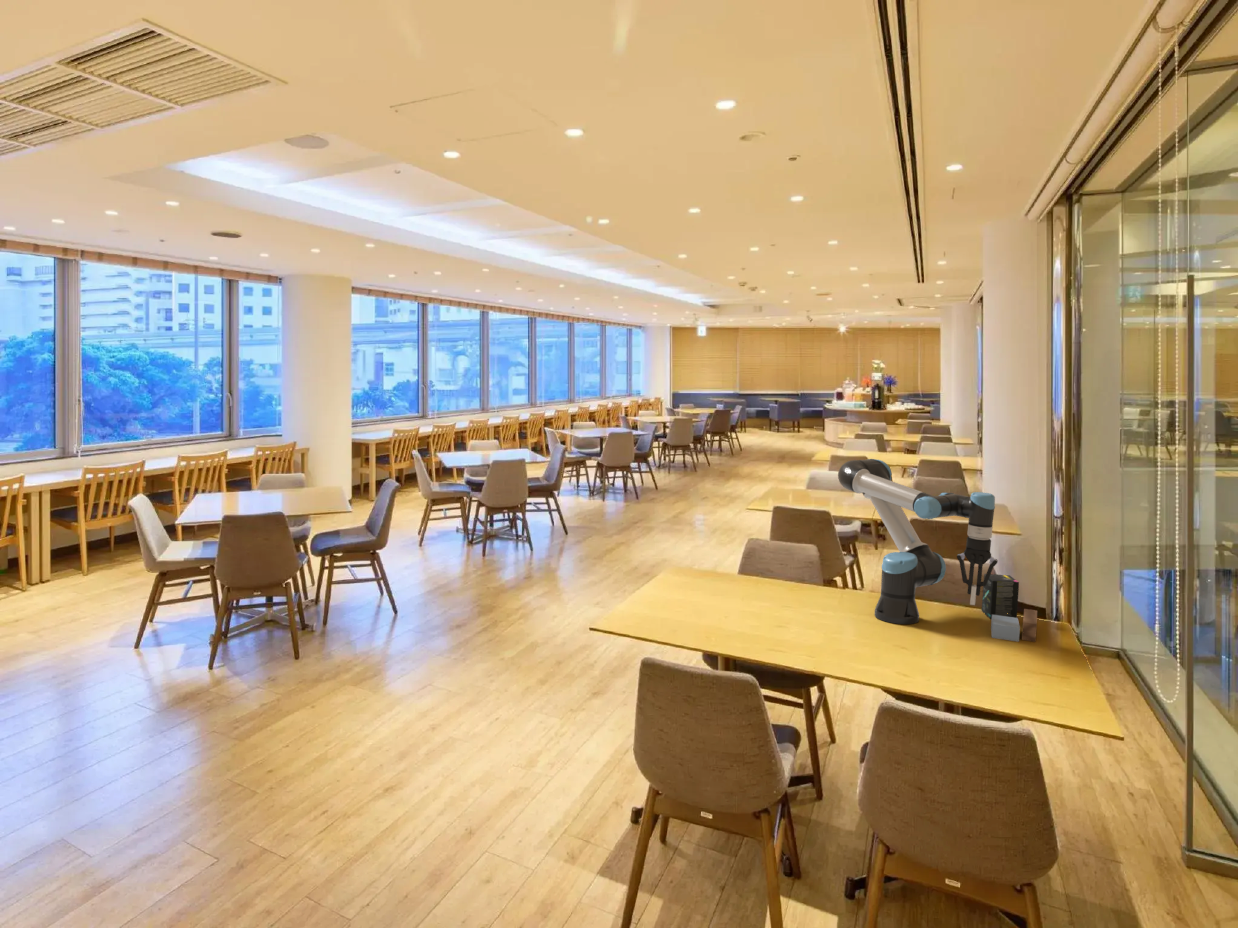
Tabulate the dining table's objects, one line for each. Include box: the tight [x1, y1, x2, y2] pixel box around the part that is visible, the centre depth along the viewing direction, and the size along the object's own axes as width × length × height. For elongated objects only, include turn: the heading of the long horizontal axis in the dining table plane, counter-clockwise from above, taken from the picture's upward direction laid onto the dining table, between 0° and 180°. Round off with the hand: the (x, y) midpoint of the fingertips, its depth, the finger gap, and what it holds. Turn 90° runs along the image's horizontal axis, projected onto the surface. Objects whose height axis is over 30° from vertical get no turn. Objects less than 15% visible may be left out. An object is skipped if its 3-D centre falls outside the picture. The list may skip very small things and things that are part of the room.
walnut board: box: [1021, 608, 1038, 643], centre depth 251 cm, size 4×18×6 cm, turn 150°
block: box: [990, 615, 1021, 642], centre depth 249 cm, size 8×12×5 cm, turn 155°
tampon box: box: [981, 573, 1020, 620], centre depth 269 cm, size 11×9×15 cm
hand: (972, 603), depth 254 cm, fingers closed
